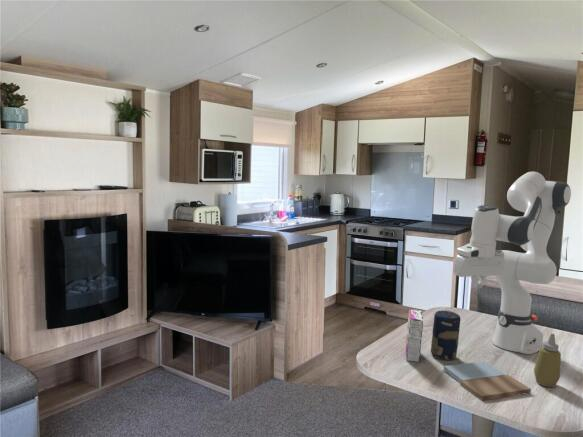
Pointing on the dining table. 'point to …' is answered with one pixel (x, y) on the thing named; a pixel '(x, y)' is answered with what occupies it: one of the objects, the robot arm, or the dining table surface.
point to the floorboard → (495, 387)
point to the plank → (472, 371)
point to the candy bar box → (414, 335)
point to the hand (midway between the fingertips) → (477, 287)
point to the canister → (445, 335)
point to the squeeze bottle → (548, 363)
